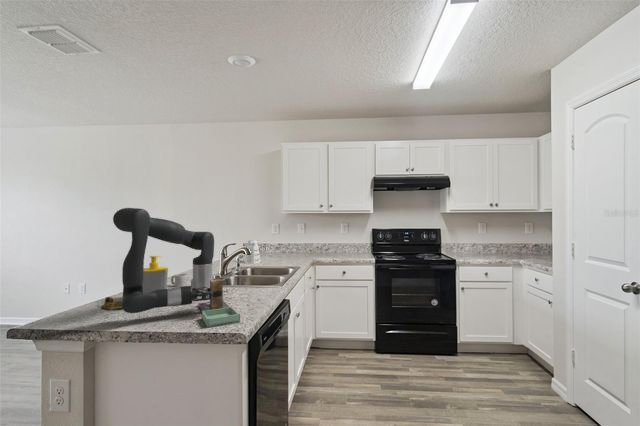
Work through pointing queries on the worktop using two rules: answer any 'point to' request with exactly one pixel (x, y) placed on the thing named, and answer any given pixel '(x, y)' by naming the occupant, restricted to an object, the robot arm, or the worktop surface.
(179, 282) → the mug
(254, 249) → the grater
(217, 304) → the brown wooden block
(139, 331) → the worktop surface
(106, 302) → the seal
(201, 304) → the crank bed
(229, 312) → the tray
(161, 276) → the soap bottle
